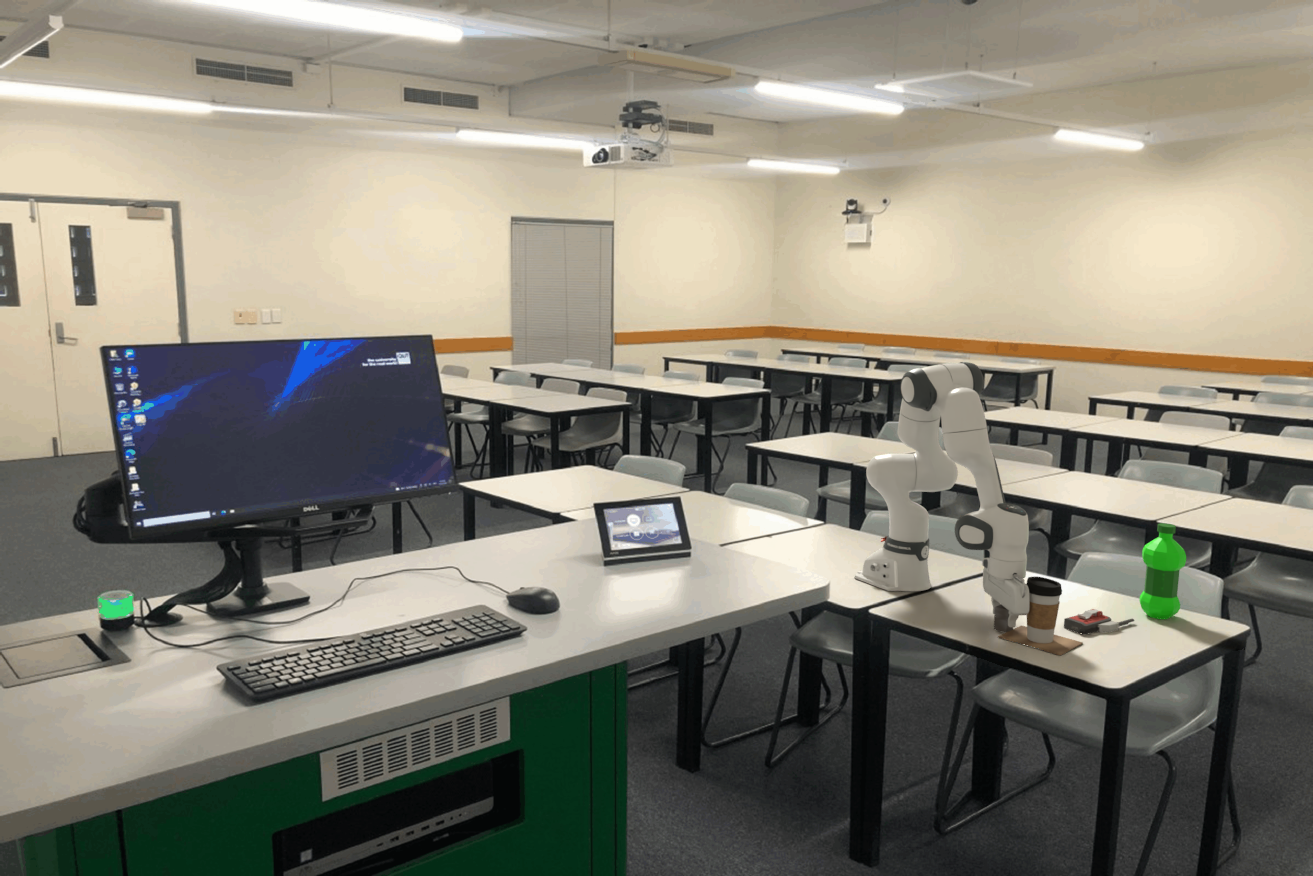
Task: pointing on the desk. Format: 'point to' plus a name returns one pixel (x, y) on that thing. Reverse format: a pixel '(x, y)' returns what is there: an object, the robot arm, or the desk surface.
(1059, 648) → the walnut strip
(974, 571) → the desk surface
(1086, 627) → the walkie-talkie
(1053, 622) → the coffee cup
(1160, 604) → the plastic bottle
